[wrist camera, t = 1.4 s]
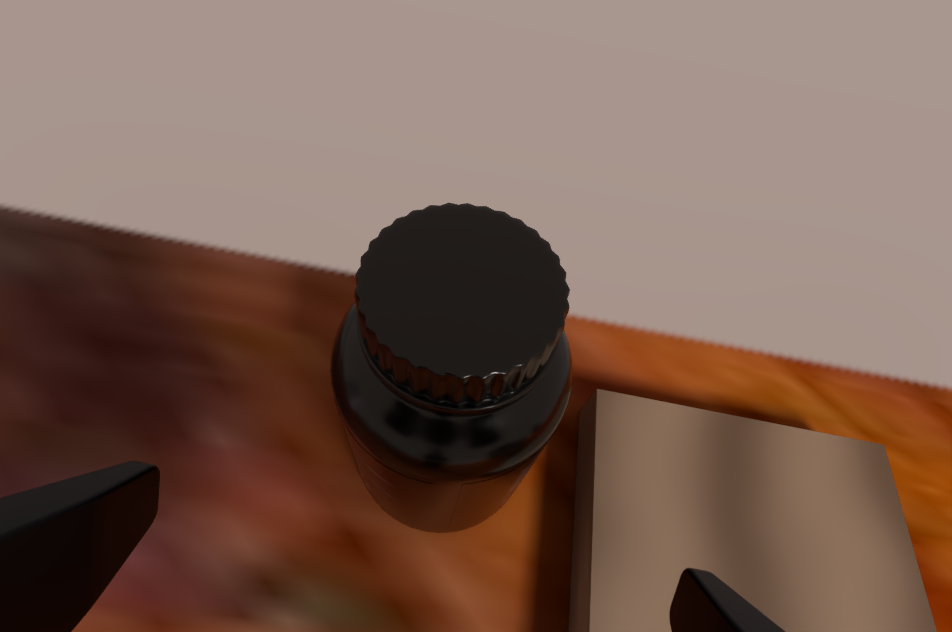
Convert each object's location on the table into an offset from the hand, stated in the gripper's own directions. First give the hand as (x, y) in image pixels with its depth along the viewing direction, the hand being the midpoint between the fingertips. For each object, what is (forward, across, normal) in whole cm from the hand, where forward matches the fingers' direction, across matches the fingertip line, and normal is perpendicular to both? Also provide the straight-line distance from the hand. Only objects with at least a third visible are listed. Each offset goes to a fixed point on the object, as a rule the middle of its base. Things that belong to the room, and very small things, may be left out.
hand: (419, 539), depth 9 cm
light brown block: (+10, -12, +7) cm, 17 cm away
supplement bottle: (+12, 0, +5) cm, 13 cm away
